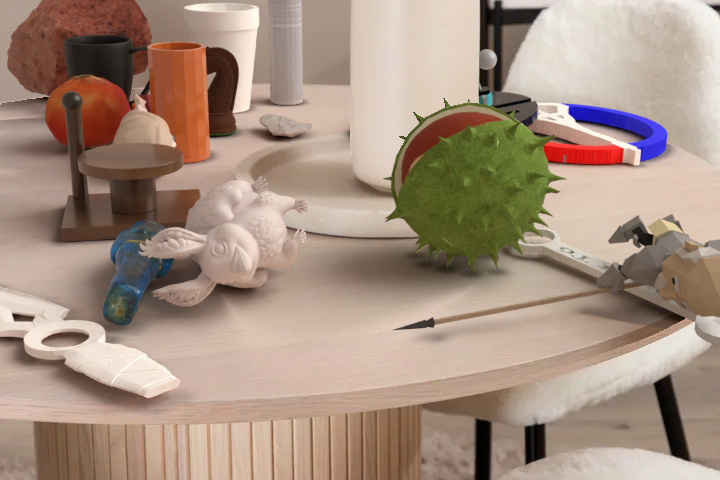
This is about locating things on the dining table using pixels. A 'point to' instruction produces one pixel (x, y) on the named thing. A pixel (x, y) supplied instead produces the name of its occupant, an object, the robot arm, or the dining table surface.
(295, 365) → the dining table surface
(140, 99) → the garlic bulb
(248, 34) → the foam cup
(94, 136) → the tomato
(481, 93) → the platform
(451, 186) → the chestnut
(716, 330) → the wrench
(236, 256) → the figurine
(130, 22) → the rock
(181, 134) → the cup
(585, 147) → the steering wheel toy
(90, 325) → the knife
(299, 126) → the stone
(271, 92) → the bottle
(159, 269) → the figurine
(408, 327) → the toy
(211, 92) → the chess piece
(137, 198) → the cup stand
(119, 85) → the mug
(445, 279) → the dining table surface
